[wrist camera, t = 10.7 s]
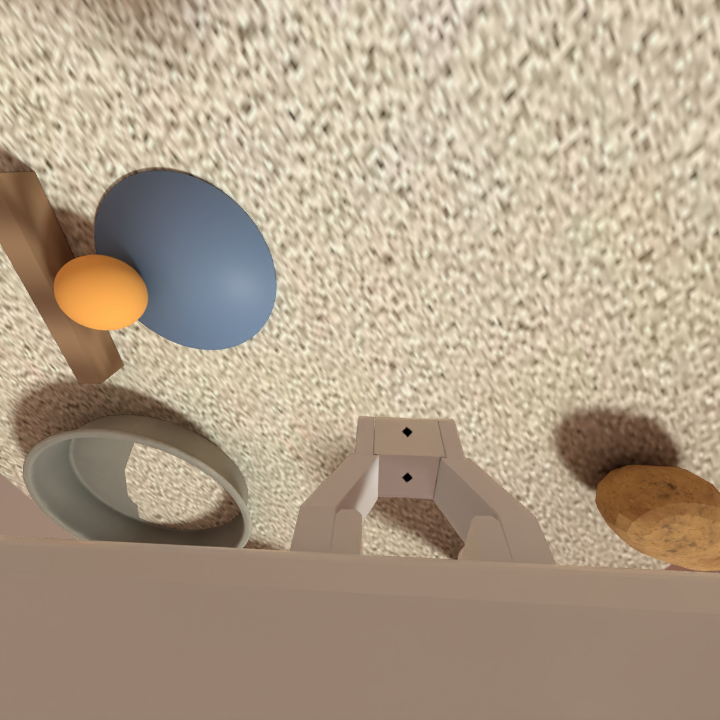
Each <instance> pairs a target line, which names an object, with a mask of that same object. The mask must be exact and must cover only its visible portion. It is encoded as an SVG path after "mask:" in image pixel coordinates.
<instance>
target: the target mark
mask: <svg viewBox="0 0 720 720" xmlns="http://www.w3.org/2000/svg"><path fill="white" fill-rule="evenodd" d="M94 238H95V247H96V252H97V255H105V256H110V257H113V258H116V259H119V260H121V261H123V262H125V263H126V264H128V265H129V266H131V267H132V268H133V269H135V270H136V272H137V273H138V274H139V275H140V276H141V277H142V279H143V281H144V282H145V285H146V288H147V291H148V303H147V307H146V309H145V311H144V313H143V314H142V316H141V317H140V318H139V319H138V320H139V321H140V322H141V323H142V324H144V325H145V326H146V327H148V328H149V329H150V330H152V331H154V332H155V333H157V334H158V335H160V336H162V337H164V338H166V339H168V340H170V341H172V342H175V343H177V344H180V345H184V346H187V347H191V348H196V349H204V350H220V349H226V348H231V347H234V346H237V345H239V344H241V343H244V342H246V341H247V340H249V339H250V338H252V337H253V336H254V335H255V334H256V333H258V332H259V331H260V329H261V328H262V327H263V326H264V324H265V323H266V321H267V320H268V318H269V316H270V314H271V312H272V309H273V306H274V302H275V297H276V273H275V268H274V263H273V259H272V257H271V254H270V251H269V248H268V246H267V244H266V242H265V240H264V238H263V236H262V234H261V233H260V231H259V229H258V228H257V226H256V225H255V223H254V222H253V221H252V220H251V218H250V217H249V216H248V214H247V213H246V212H245V211H244V210H243V209H242V208H241V207H240V206H239V205H238V204H237V203H236V202H235V201H233V200H232V199H231V198H230V197H229V196H227V195H226V194H225V193H223V192H222V191H220V190H219V189H217V188H216V187H214V186H213V185H211V184H209V183H207V182H205V181H203V180H201V179H198V178H196V177H193V176H190V175H187V174H183V173H178V172H174V171H160V170H159V171H147V172H142V173H138V174H135V175H132V176H130V177H128V178H126V179H124V180H122V181H121V182H119V183H118V184H117V185H115V186H114V187H113V188H112V189H111V190H110V191H109V193H108V194H107V195H106V196H105V198H104V200H103V201H102V203H101V205H100V208H99V211H98V213H97V217H96V222H95V236H94Z"/></svg>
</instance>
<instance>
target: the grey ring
mask: <svg viewBox="0 0 720 720" xmlns="http://www.w3.org/2000/svg"><path fill="white" fill-rule="evenodd" d="M134 442H136V443H139V444H143V445H147V446H150V447H153V448H156V449H159V450H162V451H164V452H167V453H169V454H171V455H174V456H176V457H178V458H180V459H182V460H185V461H186V462H188V463H190V464H192V465H194V466H195V467H197V468H198V469H200V470H202V471H203V472H205V473H206V474H207V475H209V476H210V477H212V478H213V479H214V480H215V481H217V482H218V483H219V484H220V485H221V486H222V487H223V488H224V489H225V490H226V491H227V492H228V493H229V494H230V495H231V497H232V498H233V499H234V500H235V502H236V503H237V505H238V507H239V509H240V511H241V513H240V514H239V515H238V516H237V517H236V518H235V519H233V520H232V521H230V522H228V523H226V524H224V525H222V526H219V527H215V528H211V529H204V530H182V529H174V528H168V527H165V526H160V525H155V524H152V523H150V522H147V521H145V520H143V519H140V518H139V515H138V510H137V504H135V503H134V502H132V501H131V499H130V498H129V497H128V493H127V485H126V477H125V467H126V464H127V461H128V459H129V456H130V453H131V450H132V447H133V444H134ZM23 477H24V481H25V484H26V487H27V489H28V491H29V493H30V495H31V497H32V498H33V500H34V501H35V502H36V504H37V505H38V506H39V507H40V509H41V510H42V511H43V512H44V513H45V514H46V515H47V516H49V517H50V518H51V519H52V520H53V521H54V522H55V523H57V524H58V525H59V526H61V527H62V528H63V529H65V530H66V531H68V532H69V533H71V534H72V535H74V536H76V537H77V538H79V539H81V540H93V541H112V542H131V543H151V544H170V545H189V546H208V547H227V548H243V547H244V546H245V545H246V543H247V542H248V540H249V538H250V535H251V530H252V521H251V516H250V512H249V510H248V507H247V502H248V489H247V485H246V482H245V479H244V477H243V475H242V473H241V471H240V470H239V468H238V467H237V466H236V464H235V463H234V462H233V461H232V460H231V459H230V457H229V456H228V455H226V454H225V453H224V452H223V451H222V450H221V449H220V448H218V447H217V446H216V445H214V444H213V443H212V442H210V441H209V440H207V439H205V438H204V437H202V436H200V435H198V434H197V433H195V432H193V431H191V430H189V429H186V428H184V427H182V426H179V425H176V424H174V423H171V422H167V421H164V420H160V419H156V418H152V417H146V416H138V415H113V416H106V417H102V418H98V419H96V420H93V421H91V422H89V423H87V424H85V425H83V426H82V427H80V428H78V429H77V430H71V431H66V432H62V433H58V434H55V435H52V436H50V437H47V438H45V439H44V440H42V441H40V442H39V443H37V444H36V445H35V446H34V447H33V448H32V449H31V450H30V451H29V453H28V455H27V456H26V459H25V461H24V465H23Z"/></svg>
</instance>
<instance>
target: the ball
mask: <svg viewBox="0 0 720 720" xmlns="http://www.w3.org/2000/svg"><path fill="white" fill-rule="evenodd" d="M54 295H55V299H56V301H57V303H58V305H59V307H60V308H61V309H62V311H63V312H64V313H65V314H66V315H67V316H68V317H69V318H71V319H72V320H74V321H75V322H77V323H79V324H81V325H83V326H85V327H89V328H92V329H97V330H117V329H121V328H124V327H127V326H129V325H131V324H133V323H134V322H135V321H137V320H138V319H139V318H140V317H141V316H142V314H143V313H144V311H145V309H146V307H147V303H148V291H147V288H146V285H145V282H144V281H143V279H142V277H141V276H140V275H139V274H138V273H137V272H136V270H135V269H133V268H132V267H131V266H129V265H128V264H126V263H125V262H123V261H121V260H119V259H116V258H113V257H110V256H105V255H85V256H81V257H78V258H75V259H73V260H71V261H69V262H68V263H66V264H65V265H64V266H63V267H62V268H61V269H60V270H59V272H58V273H57V275H56V277H55V281H54Z"/></svg>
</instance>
